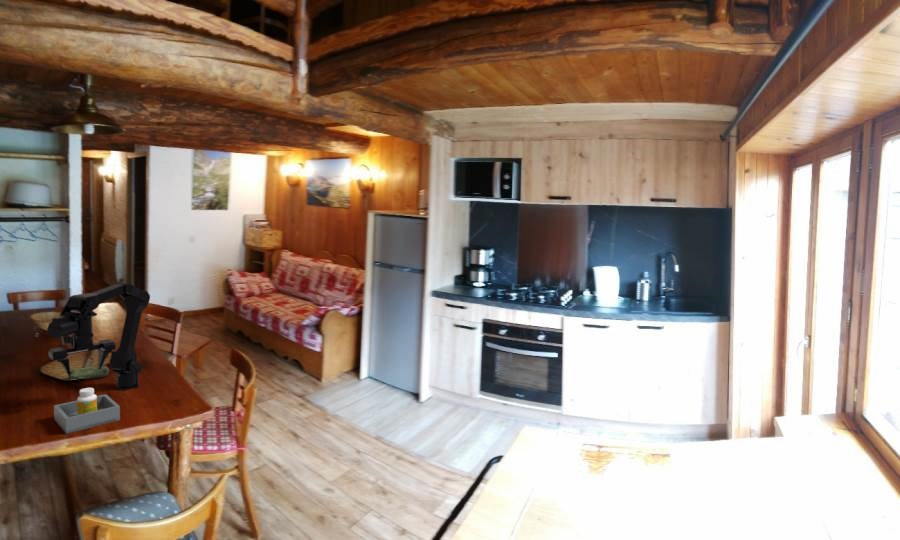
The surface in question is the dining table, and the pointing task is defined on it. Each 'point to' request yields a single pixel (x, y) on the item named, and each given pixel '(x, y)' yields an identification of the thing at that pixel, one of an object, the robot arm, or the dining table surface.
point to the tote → (86, 415)
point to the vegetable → (88, 372)
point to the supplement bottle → (86, 401)
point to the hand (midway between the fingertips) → (84, 372)
